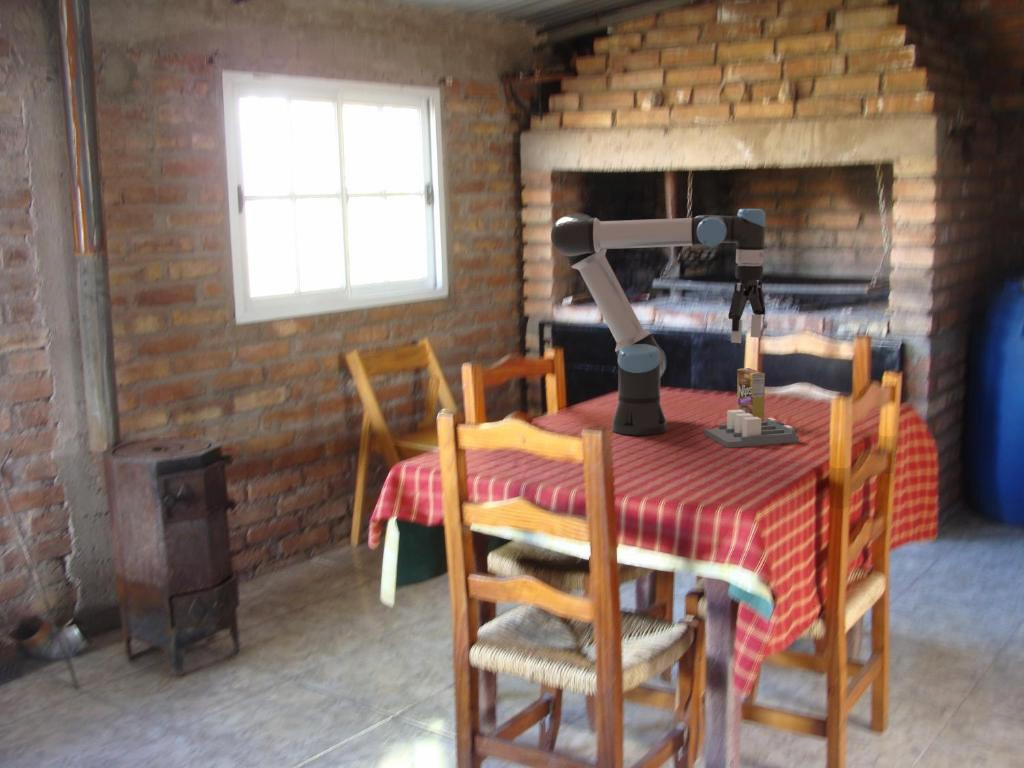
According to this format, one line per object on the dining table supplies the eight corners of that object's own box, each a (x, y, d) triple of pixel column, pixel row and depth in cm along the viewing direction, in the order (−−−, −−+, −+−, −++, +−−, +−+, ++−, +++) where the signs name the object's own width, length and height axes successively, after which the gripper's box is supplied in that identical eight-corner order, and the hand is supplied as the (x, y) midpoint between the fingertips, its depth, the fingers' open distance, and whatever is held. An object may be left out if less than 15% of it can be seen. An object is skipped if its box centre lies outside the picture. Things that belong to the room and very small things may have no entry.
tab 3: (746, 438, 288) (747, 419, 287) (742, 436, 291) (742, 417, 290) (761, 437, 289) (761, 418, 288) (756, 435, 292) (756, 416, 291)
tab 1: (731, 430, 298) (731, 412, 297) (727, 428, 301) (727, 410, 300) (745, 429, 299) (745, 411, 298) (740, 427, 302) (741, 409, 301)
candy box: (735, 420, 318) (736, 368, 316) (749, 419, 319) (750, 367, 317) (751, 426, 310) (752, 373, 307) (764, 425, 311) (765, 372, 308)
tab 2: (739, 434, 293) (739, 416, 292) (734, 432, 296) (734, 413, 295) (753, 433, 294) (753, 415, 293) (748, 431, 297) (748, 413, 296)
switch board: (727, 447, 286) (727, 433, 285) (704, 434, 301) (704, 421, 301) (798, 442, 290) (798, 428, 289) (772, 429, 305) (772, 416, 305)
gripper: (743, 268, 295) (740, 346, 299) (779, 262, 315) (775, 336, 319) (718, 266, 299) (714, 343, 303) (754, 261, 319) (751, 333, 323)
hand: (745, 340), depth 311 cm, fingers open, 13 cm apart
